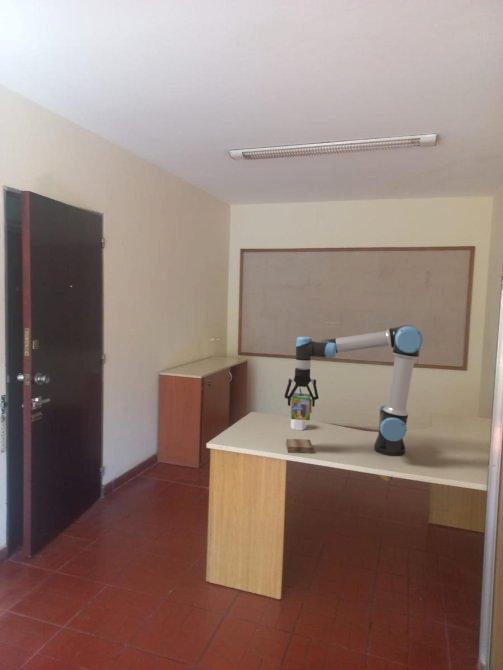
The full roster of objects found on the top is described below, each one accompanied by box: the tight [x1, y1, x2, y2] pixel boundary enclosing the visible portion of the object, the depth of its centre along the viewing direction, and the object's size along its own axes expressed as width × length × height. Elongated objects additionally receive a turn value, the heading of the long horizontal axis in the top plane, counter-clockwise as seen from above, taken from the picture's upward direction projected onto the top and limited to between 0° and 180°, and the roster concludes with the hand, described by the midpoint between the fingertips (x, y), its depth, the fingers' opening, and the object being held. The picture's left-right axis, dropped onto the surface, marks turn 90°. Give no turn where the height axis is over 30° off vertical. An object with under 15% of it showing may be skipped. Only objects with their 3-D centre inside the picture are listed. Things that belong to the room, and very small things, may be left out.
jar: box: [290, 418, 308, 431], centre depth 265 cm, size 9×8×12 cm
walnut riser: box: [285, 438, 314, 454], centre depth 231 cm, size 12×12×3 cm
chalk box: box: [290, 387, 312, 421], centre depth 228 cm, size 9×9×15 cm
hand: (300, 412), depth 229 cm, fingers closed on chalk box, 9 cm apart
